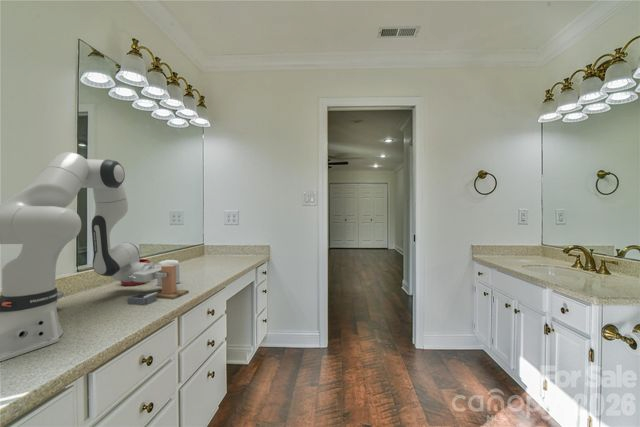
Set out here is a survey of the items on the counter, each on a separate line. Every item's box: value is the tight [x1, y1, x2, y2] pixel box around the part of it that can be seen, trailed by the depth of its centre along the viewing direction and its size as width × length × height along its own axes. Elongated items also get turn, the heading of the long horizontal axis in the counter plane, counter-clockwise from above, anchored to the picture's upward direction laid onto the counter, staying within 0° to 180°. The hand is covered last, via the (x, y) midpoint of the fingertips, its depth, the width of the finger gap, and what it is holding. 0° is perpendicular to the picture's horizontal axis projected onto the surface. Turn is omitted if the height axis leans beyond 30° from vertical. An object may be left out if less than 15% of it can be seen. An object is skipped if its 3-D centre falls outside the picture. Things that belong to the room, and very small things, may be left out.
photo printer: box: [156, 259, 181, 287], centre depth 151 cm, size 10×4×12 cm, turn 127°
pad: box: [156, 289, 190, 300], centre depth 132 cm, size 10×12×1 cm
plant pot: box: [120, 258, 151, 286], centre depth 153 cm, size 13×13×12 cm
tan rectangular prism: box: [161, 265, 178, 294], centre depth 131 cm, size 3×5×12 cm, turn 79°
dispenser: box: [127, 291, 158, 306], centre depth 122 cm, size 7×9×4 cm
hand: (171, 273), depth 131 cm, fingers open, 4 cm apart
